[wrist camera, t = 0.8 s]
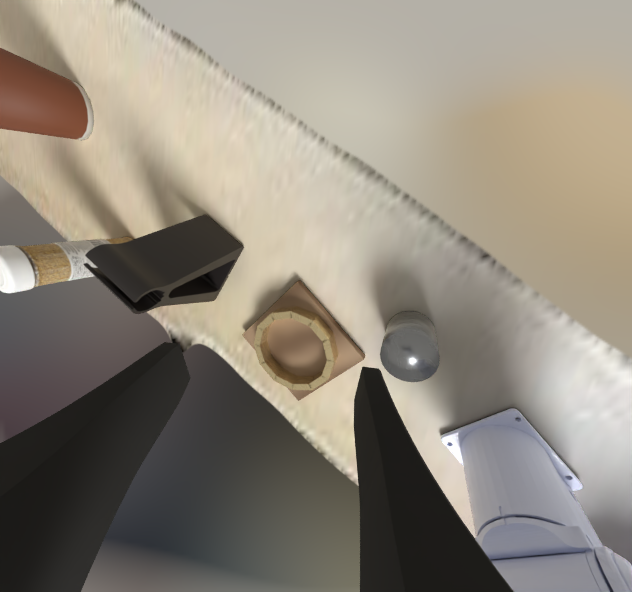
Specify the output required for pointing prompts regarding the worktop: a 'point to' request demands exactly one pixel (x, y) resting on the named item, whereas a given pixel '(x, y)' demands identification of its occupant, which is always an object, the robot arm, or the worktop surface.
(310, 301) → the ring plate
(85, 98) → the coffee cup
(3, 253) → the sprinkles bottle
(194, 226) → the phone stand
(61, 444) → the robot arm
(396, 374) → the cylinder
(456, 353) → the worktop surface
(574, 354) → the worktop surface
